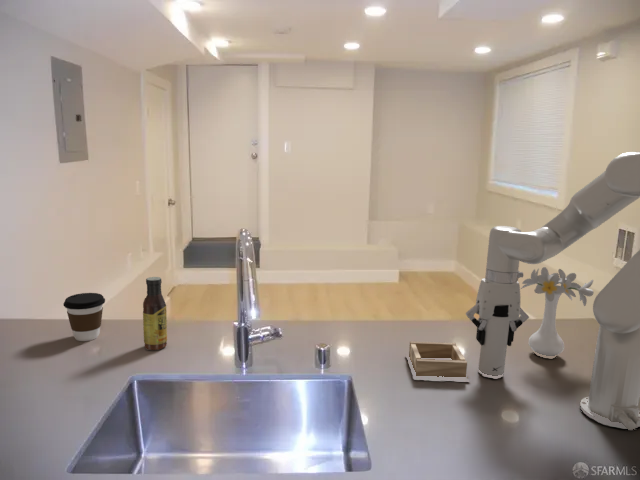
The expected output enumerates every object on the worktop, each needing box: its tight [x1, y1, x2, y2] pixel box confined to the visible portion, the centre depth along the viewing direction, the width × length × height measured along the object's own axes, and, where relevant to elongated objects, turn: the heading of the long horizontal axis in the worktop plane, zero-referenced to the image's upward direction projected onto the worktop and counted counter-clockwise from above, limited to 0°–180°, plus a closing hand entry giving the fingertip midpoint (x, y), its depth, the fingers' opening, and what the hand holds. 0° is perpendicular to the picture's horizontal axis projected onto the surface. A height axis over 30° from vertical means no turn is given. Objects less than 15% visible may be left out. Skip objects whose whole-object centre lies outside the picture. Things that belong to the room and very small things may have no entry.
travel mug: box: [478, 304, 512, 376], centre depth 129 cm, size 6×7×20 cm
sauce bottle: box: [142, 276, 168, 351], centre depth 140 cm, size 6×6×20 cm
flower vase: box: [520, 266, 594, 356], centre depth 142 cm, size 13×18×25 cm
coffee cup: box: [63, 292, 106, 342], centre depth 146 cm, size 11×11×12 cm
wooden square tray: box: [408, 340, 468, 377], centre depth 133 cm, size 14×14×5 cm
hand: (494, 342), depth 129 cm, fingers closed on travel mug, 6 cm apart
